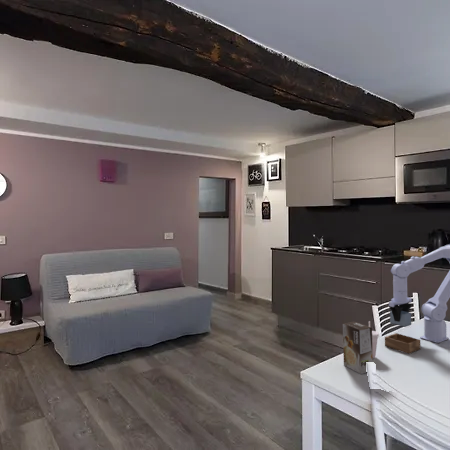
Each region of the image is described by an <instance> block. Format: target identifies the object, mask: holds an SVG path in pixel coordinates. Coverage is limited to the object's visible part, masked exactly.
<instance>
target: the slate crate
mask: <svg viewBox="0 0 450 450" xmlns="http://www.w3.org/2000/svg"><path fill="white" fill-rule="evenodd" d="M389 320H390V321H389V324H392V325H396V326H399V327H403V328H406V327H410V326H412V312H410V311H409V312H405V311H401V315H400V322H397V321H395V320H394V317H393V314H392V311H391V310H390V311H389Z"/></svg>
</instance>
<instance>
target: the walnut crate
mask: <svg viewBox="0 0 450 450" xmlns="http://www.w3.org/2000/svg"><path fill="white" fill-rule="evenodd" d="M384 347H387V348H389V349H392V350H395V351H398V352H402V353H404V354H408V355H410V354H412V353H415V352H418V351H420V350H421V339H420V338H419V339H418V338H414V337H411V336H407V335H404V334H402V333H401V334H400V333H398V332H397V333H393V334H390V335H386V336H384Z"/></svg>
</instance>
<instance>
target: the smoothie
mask: <svg viewBox="0 0 450 450" xmlns="http://www.w3.org/2000/svg"><path fill="white" fill-rule="evenodd" d="M368 326H369V327H371V321H370V320H369V321H368ZM379 335H380V334H379V332H377V331H376V330H372V352H373V359H375V358H376V357H377V356H376V355H377V347H378V346H377V345H378V338H379V337H380V336H379Z"/></svg>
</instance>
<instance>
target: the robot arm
mask: <svg viewBox="0 0 450 450" xmlns="http://www.w3.org/2000/svg"><path fill="white" fill-rule="evenodd" d="M442 258H443V259H446V260H447V261H448V262H449V264H450V244H446V245H444V246H440V247H438V248H437V249H435V250H433V251H431V252H429V253H427V254H425V255H423V256H421V257H419V256H411V257H410V259H407V260H402V261H400V263H395V264H393V266H392V267H391V269H390V273H391V274H392V277H393V278H392V279H393V280H392V285H393V286H392V287H393V288H392V290H393V294H392V295H393V298H391V299H390V301H388V308H389V309H390V311H392V314H393V317H394V320H395V321H397V322H400V315H401V311H405V312H409V313H410V310H411V308H412V306H413V304H412V298H411V297H408V277H409V275H410V274H412V273H415V272H417V271H419V270H422V269H423V268H424V266H425V265H426V264H428V263H429V264H430V263H432V262H434V261H436V260H439V259H442ZM449 299H450V270H449V271H448V272H447V274H446V276H445V277H444V279H443V280H442V282H441V284H440V286H439V287H438V289H437V290H436V293H435V294H434V295H433V297H431V298H429V299H428V300H427V301H426V302H425V303H423V304H422V305H421V313H422V314H423V320H424V321H423V323H424V324H423V325H424V327H423V329H424V332H423V335H422V336H419V337H420V338H419V339H422V340H425V341H430V342H433V343H437V344H439V343H441V342H444V341H446V340H449V339H450V338H449V337H448V336H447V323H446V321H445V318H446V314H447V310H448V305H447V303H448V301H449Z"/></svg>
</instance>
